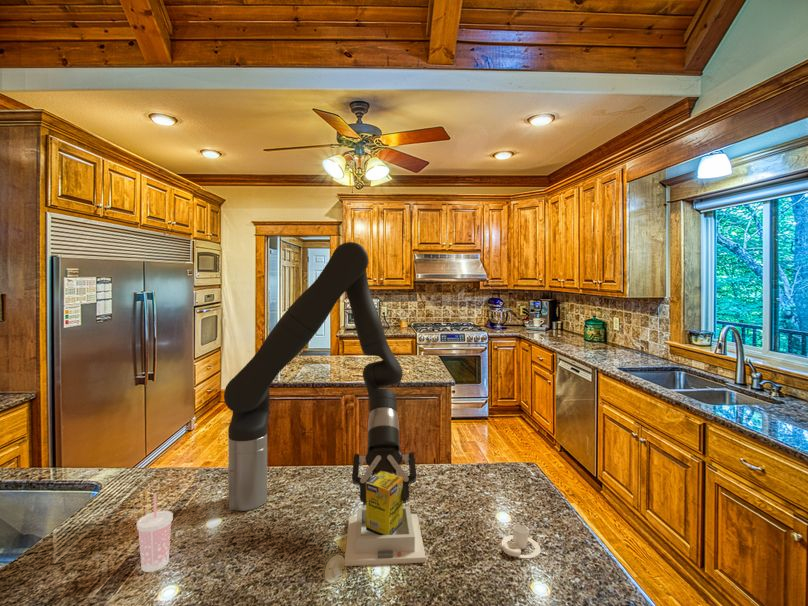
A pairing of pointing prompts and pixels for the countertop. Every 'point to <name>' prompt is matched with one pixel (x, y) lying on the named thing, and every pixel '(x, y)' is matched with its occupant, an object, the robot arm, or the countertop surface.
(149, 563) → the beverage cup
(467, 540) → the countertop surface
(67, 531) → the countertop surface
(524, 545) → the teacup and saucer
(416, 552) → the socket base
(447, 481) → the countertop surface
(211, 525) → the countertop surface
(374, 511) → the supplement box
